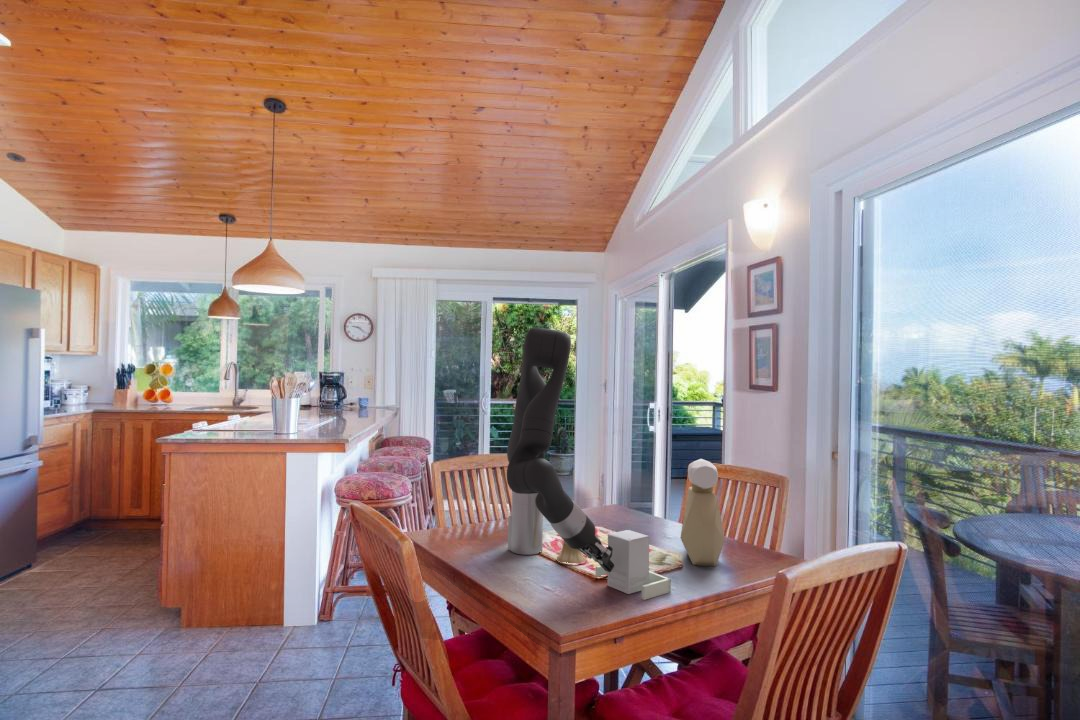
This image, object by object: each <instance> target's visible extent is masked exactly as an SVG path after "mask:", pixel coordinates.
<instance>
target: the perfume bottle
mask: <svg viewBox="0 0 1080 720" xmlns="http://www.w3.org/2000/svg"><path fill="white" fill-rule="evenodd" d="M687 475H688V481H689V482H690V483H691V486H689V487H688V488H687V493H686V501H685V508H684V513H683V521H682V525H681V532H680V541H681V542H682V544H683V547H684V549H685V551H686V553H687V555H688V557H689V559H690V561H691V563H692V565H693V566H697V567H699V566H703V567H715V566H717V564H718V561H719V559H720V556H721V553H722V551H723V547H724V544H725V542H726V538H725V533H724V528H723V522H722V516H721V510H720V505H719V500H718V496H717V495H716V494H715V493H714V492H713V487H714V486H715V485H716V484H717V483H718V480H719V474H718V468H717V467H716V466H715V465H714V464H713V463H712V462H711V461H709V460H706V459H703V458H699V459H697V460H693V461H692V462H691V463H689V464H688V467H687Z"/></svg>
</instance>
